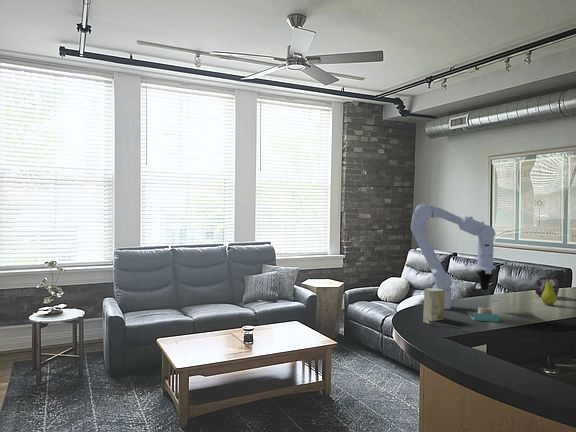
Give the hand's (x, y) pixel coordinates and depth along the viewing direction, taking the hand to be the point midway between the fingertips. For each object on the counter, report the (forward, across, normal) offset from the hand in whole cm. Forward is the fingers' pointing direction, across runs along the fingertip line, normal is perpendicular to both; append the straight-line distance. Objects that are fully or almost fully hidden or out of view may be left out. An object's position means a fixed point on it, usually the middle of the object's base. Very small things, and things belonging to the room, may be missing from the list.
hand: (484, 289), depth 183 cm
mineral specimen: (+10, +43, -36) cm, 57 cm away
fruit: (+10, +24, -31) cm, 40 cm away
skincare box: (+10, -21, +21) cm, 31 cm away
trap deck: (+9, -12, +3) cm, 16 cm away
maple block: (+8, -17, +3) cm, 19 cm away
